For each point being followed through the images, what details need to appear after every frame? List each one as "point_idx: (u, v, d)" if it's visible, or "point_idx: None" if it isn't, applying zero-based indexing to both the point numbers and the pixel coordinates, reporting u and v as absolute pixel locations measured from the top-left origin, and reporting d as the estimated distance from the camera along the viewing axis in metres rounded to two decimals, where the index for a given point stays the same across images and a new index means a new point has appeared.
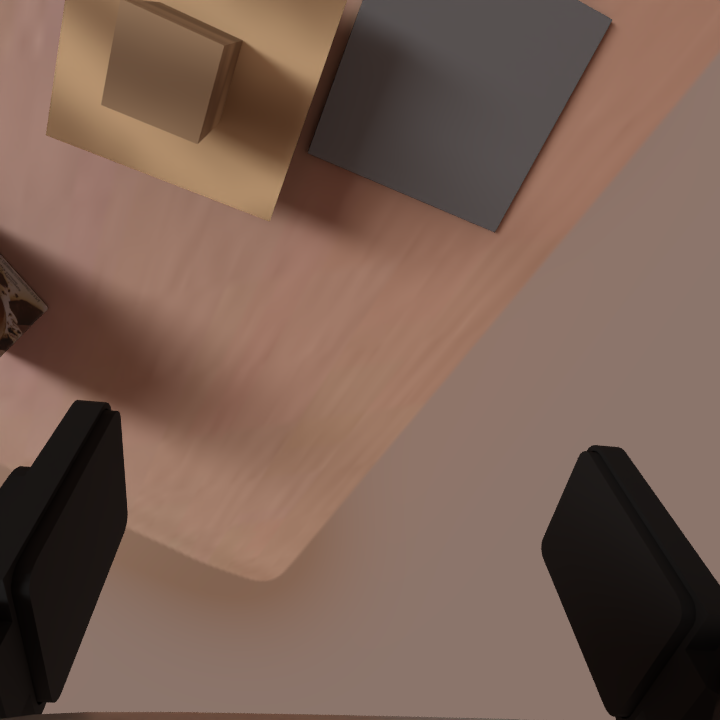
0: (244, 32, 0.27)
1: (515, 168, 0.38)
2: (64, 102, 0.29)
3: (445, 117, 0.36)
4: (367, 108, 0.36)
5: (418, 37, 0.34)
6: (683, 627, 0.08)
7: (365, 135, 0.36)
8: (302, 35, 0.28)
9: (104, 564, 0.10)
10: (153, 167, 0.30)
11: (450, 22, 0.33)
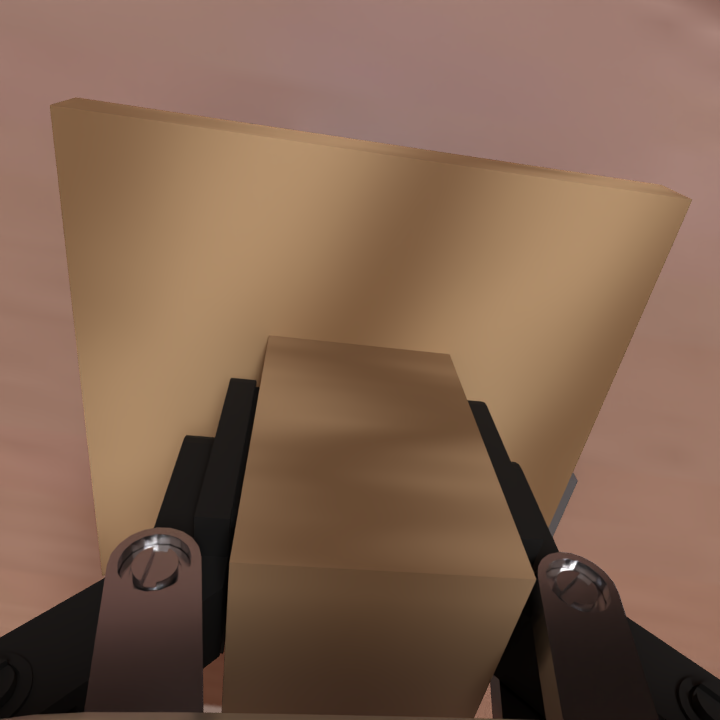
0: None
1: None
2: (166, 159, 0.10)
3: None
4: None
5: None
6: None
7: None
8: None
9: None
10: (102, 373, 0.12)
11: None
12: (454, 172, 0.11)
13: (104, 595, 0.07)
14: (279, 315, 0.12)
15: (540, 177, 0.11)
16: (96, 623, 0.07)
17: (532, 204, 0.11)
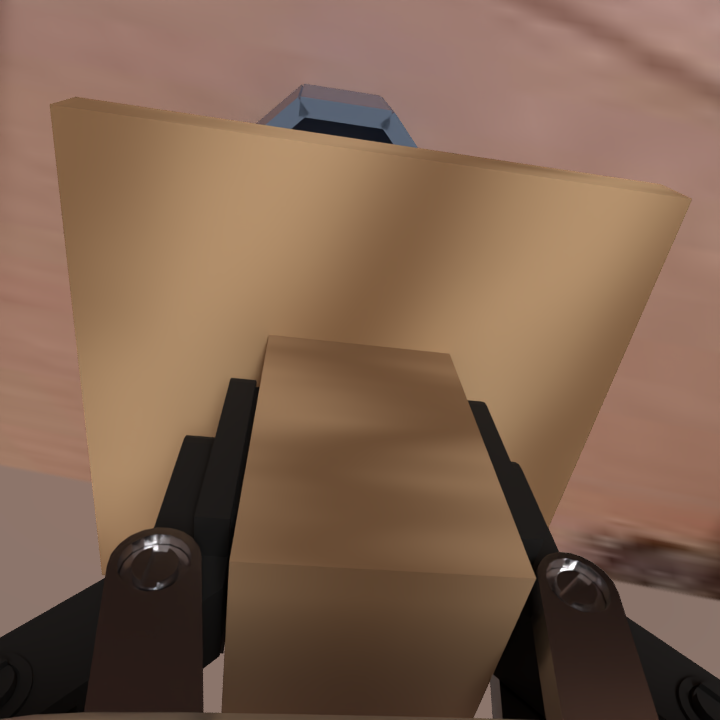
0: None
1: None
2: (166, 158, 0.10)
3: None
4: None
5: None
6: None
7: None
8: None
9: None
10: (102, 373, 0.12)
11: None
12: (454, 171, 0.11)
13: (104, 595, 0.07)
14: (278, 314, 0.12)
15: (540, 176, 0.11)
16: (96, 623, 0.07)
17: (532, 203, 0.11)
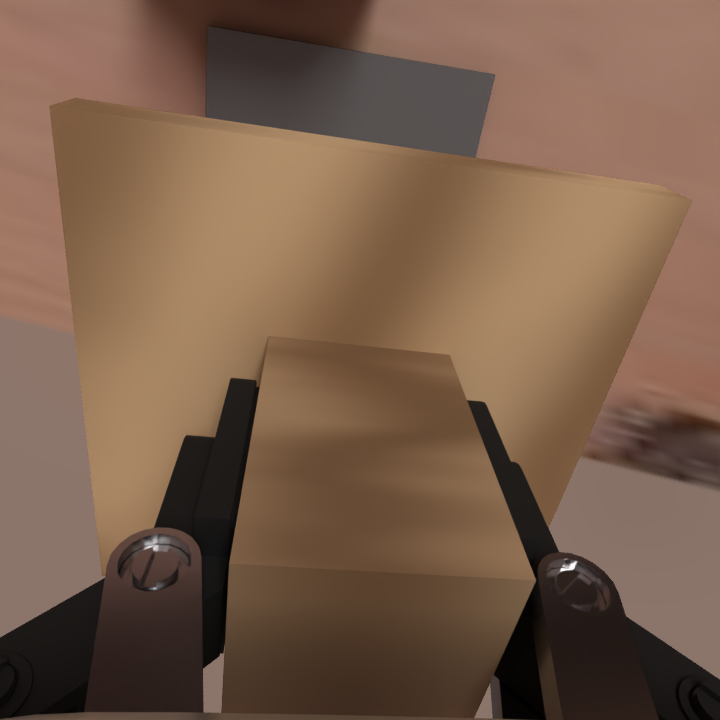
0: None
1: None
2: (166, 159, 0.10)
3: None
4: (287, 97, 0.28)
5: (376, 138, 0.29)
6: None
7: (255, 103, 0.28)
8: None
9: None
10: (101, 374, 0.12)
11: None
12: (454, 173, 0.11)
13: (104, 595, 0.07)
14: (278, 315, 0.12)
15: (540, 178, 0.11)
16: (96, 623, 0.07)
17: (532, 205, 0.11)
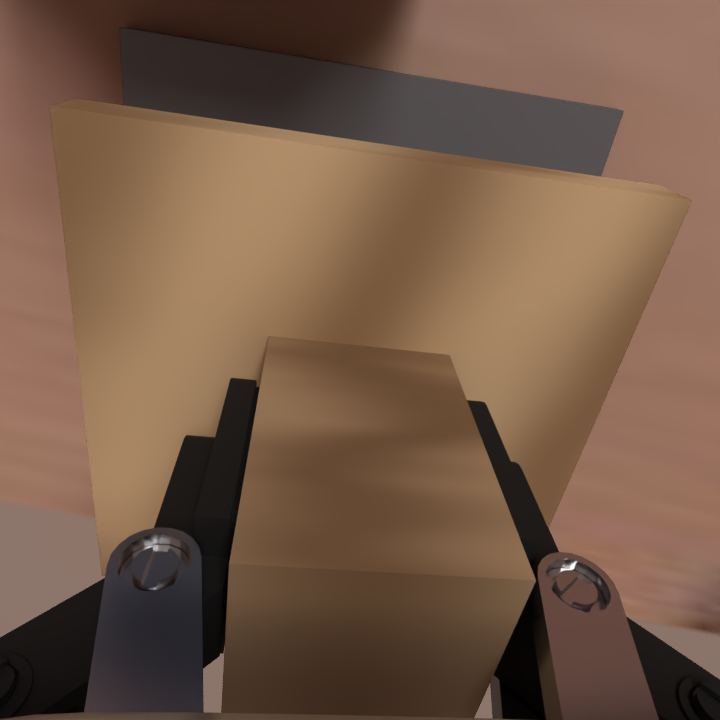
0: None
1: None
2: (165, 160, 0.10)
3: None
4: None
5: None
6: None
7: None
8: None
9: None
10: (101, 374, 0.12)
11: None
12: (454, 173, 0.11)
13: (104, 595, 0.07)
14: (279, 316, 0.12)
15: (540, 178, 0.11)
16: (96, 623, 0.07)
17: (532, 205, 0.11)
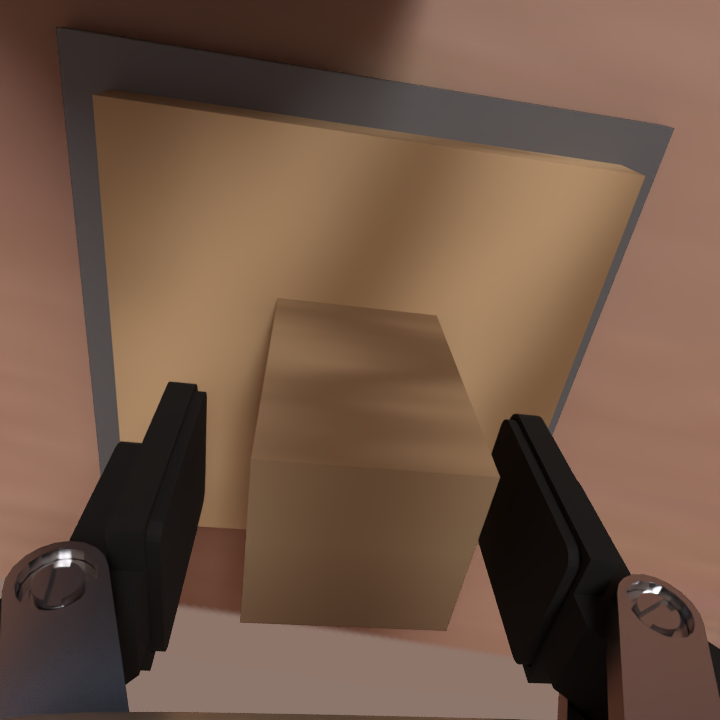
0: None
1: None
2: (190, 141, 0.12)
3: None
4: None
5: None
6: (571, 573, 0.09)
7: None
8: None
9: (192, 532, 0.11)
10: (130, 332, 0.14)
11: None
12: (438, 152, 0.12)
13: (3, 622, 0.07)
14: (286, 279, 0.14)
15: (512, 156, 0.13)
16: None
17: (506, 180, 0.13)
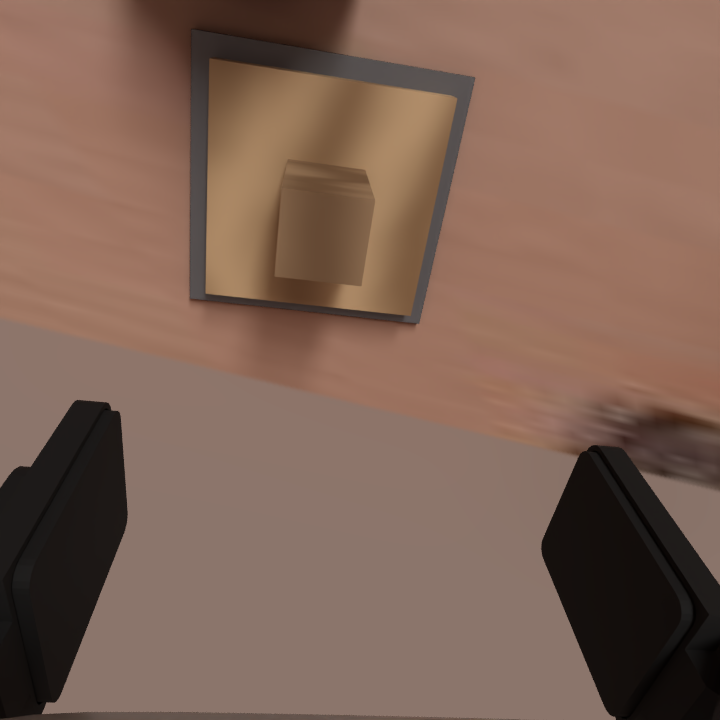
0: None
1: None
2: (250, 79, 0.27)
3: None
4: None
5: None
6: (683, 627, 0.08)
7: None
8: (370, 289, 0.33)
9: (104, 564, 0.10)
10: (216, 176, 0.29)
11: None
12: (361, 86, 0.28)
13: None
14: (292, 149, 0.29)
15: (395, 88, 0.28)
16: None
17: (393, 99, 0.28)
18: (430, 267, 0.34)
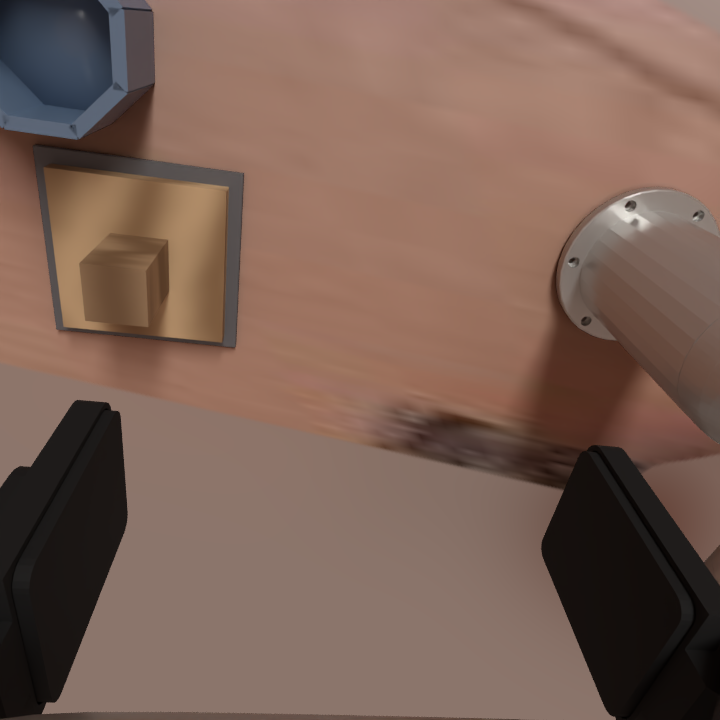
0: (174, 290, 0.43)
1: None
2: (74, 180, 0.39)
3: None
4: None
5: None
6: (683, 627, 0.08)
7: None
8: (187, 323, 0.44)
9: (104, 564, 0.10)
10: (60, 245, 0.41)
11: None
12: (155, 183, 0.39)
13: None
14: (112, 226, 0.40)
15: (180, 185, 0.39)
16: None
17: (179, 192, 0.39)
18: (236, 306, 0.45)
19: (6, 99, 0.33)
